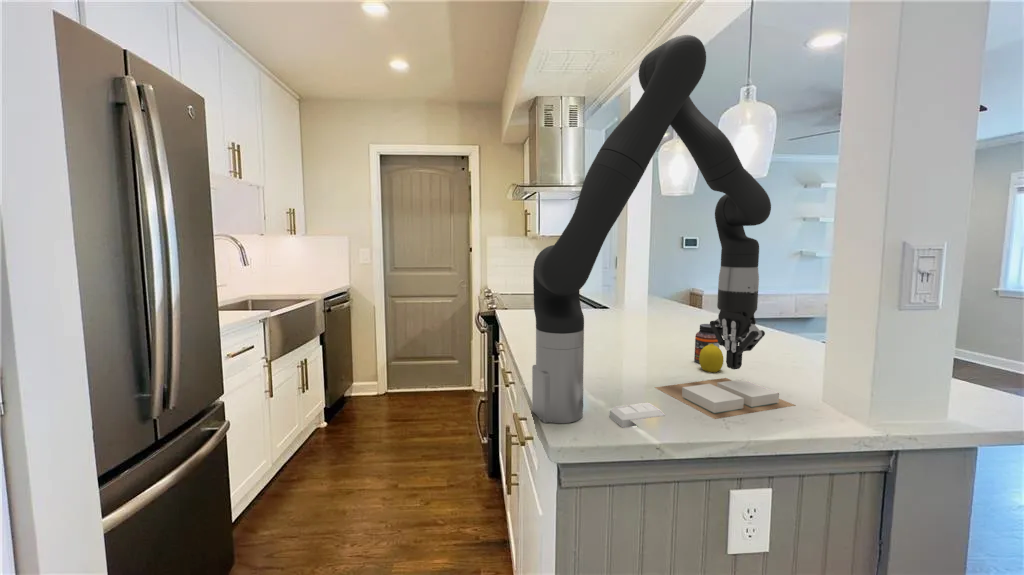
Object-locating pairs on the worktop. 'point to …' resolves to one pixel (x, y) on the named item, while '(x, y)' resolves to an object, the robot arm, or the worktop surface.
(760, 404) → the tile far
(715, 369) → the lemon
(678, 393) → the board
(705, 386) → the tile near
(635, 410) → the white light switch
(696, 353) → the supplement bottle
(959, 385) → the worktop surface
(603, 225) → the robot arm
